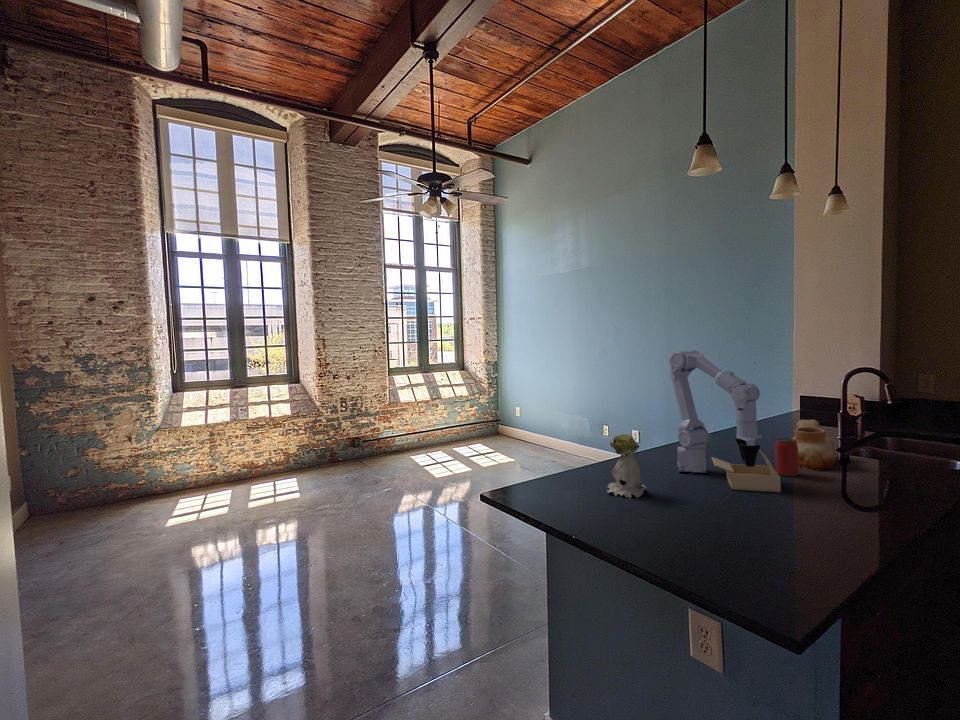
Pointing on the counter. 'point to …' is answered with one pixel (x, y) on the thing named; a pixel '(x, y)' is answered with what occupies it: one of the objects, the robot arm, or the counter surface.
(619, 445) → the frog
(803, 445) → the ceramic vessel
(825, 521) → the counter surface
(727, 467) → the flap
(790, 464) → the beer can
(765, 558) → the counter surface
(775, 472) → the flap
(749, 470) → the cardboard box
